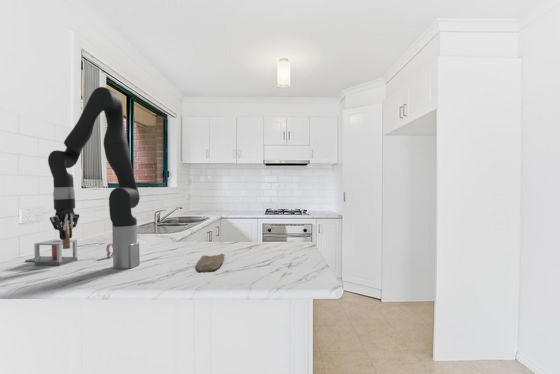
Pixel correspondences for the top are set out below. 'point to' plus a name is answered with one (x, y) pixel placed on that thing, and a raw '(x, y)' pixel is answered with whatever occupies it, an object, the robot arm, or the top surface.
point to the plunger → (54, 252)
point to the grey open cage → (60, 259)
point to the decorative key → (109, 251)
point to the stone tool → (209, 263)
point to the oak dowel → (66, 241)
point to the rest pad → (40, 258)
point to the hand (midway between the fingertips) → (66, 238)
